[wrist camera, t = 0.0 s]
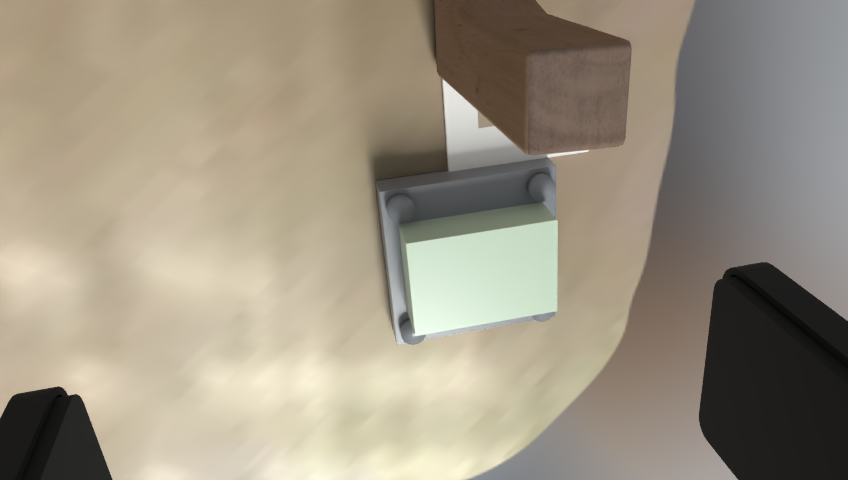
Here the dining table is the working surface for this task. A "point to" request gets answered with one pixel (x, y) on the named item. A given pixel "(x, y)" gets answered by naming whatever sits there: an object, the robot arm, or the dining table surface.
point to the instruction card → (477, 137)
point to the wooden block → (535, 74)
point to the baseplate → (455, 201)
